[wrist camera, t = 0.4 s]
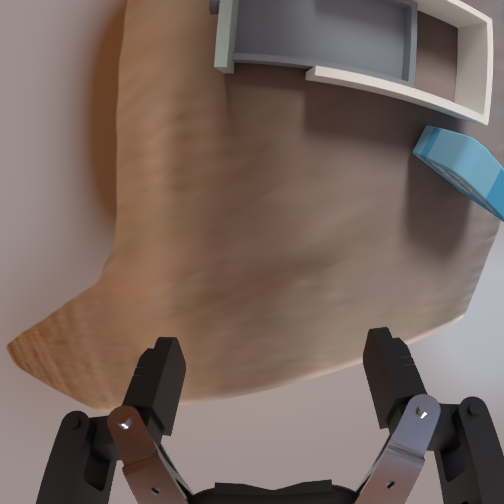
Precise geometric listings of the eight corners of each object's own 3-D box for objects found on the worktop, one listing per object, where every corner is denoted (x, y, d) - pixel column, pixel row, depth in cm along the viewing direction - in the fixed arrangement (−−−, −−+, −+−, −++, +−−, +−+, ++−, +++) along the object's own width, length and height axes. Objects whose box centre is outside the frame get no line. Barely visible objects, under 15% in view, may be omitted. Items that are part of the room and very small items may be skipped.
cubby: (312, -25, 23) (322, -47, 17) (462, 25, 23) (491, 19, 17) (305, 79, 30) (314, 75, 24) (457, 118, 30) (487, 125, 24)
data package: (407, 150, 34) (457, 174, 23) (422, 122, 32) (476, 137, 21) (462, 193, 36) (510, 227, 25) (475, 169, 34) (527, 197, 23)
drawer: (223, -31, 23) (214, -55, 17) (406, -1, 23) (432, -14, 17) (213, 73, 30) (201, 66, 24) (401, 99, 30) (429, 102, 24)
